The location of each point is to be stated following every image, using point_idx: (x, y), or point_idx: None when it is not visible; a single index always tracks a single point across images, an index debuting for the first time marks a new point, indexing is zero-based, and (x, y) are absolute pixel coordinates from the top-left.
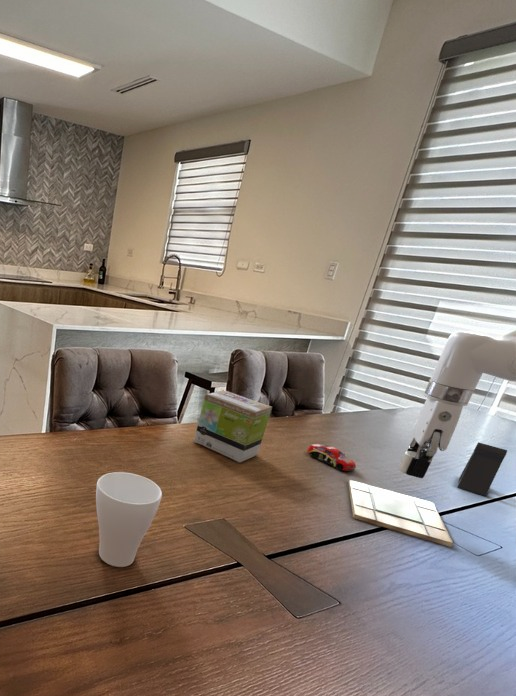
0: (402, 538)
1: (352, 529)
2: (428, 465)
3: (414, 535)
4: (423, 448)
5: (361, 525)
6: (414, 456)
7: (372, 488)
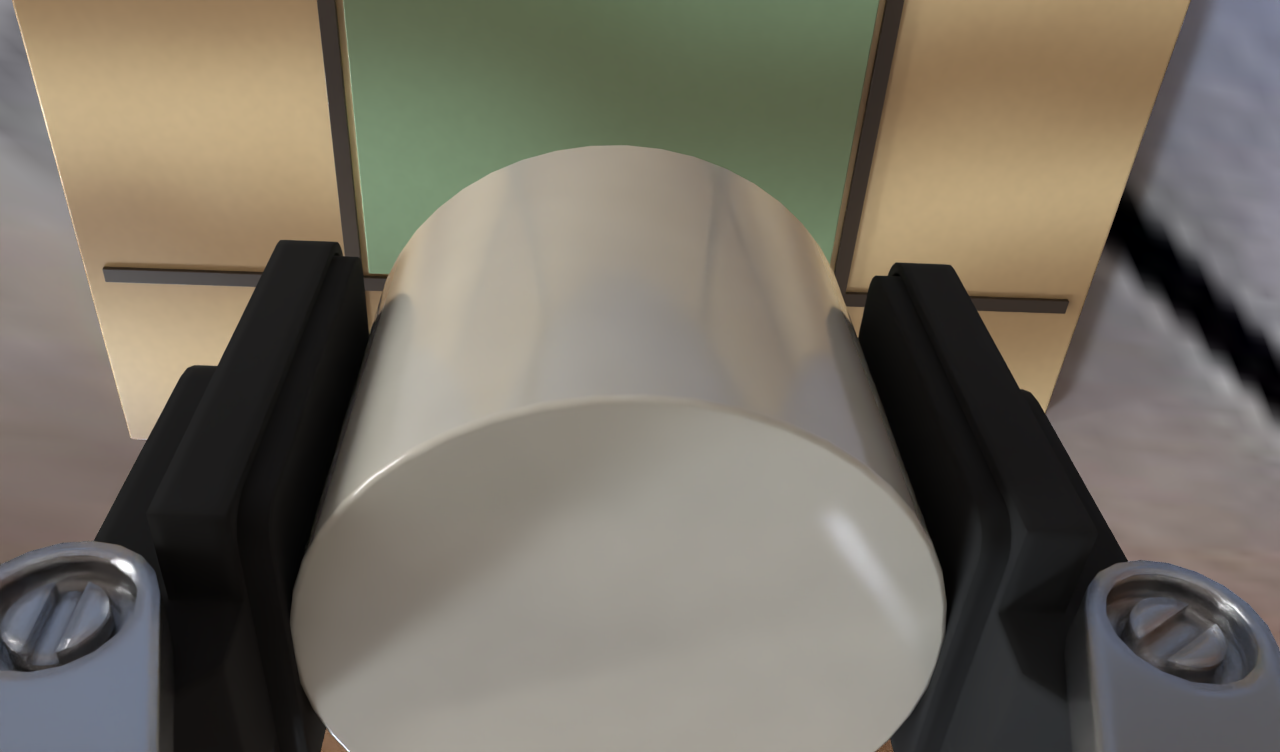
0: (1277, 67)
1: (1237, 454)
2: (1055, 469)
3: None
4: (174, 690)
5: (1133, 386)
6: (769, 741)
7: (165, 238)
